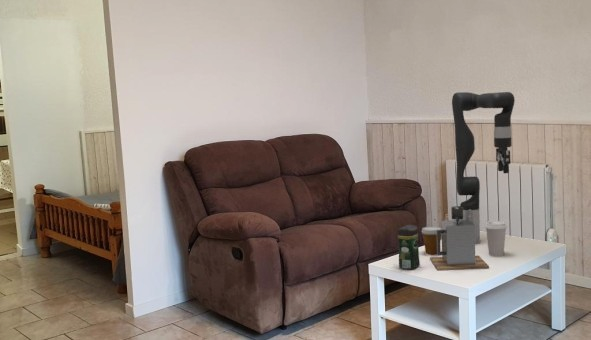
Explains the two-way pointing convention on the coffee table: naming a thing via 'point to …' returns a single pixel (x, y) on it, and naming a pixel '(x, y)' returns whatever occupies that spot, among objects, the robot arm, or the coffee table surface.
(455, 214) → the plunger
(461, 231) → the silver block with slot
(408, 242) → the coffee jar
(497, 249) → the coffee cup
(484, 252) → the coffee table surface
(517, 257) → the coffee table surface
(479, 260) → the walnut board
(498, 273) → the coffee table surface
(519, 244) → the coffee table surface
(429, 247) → the disposable coffee cup
